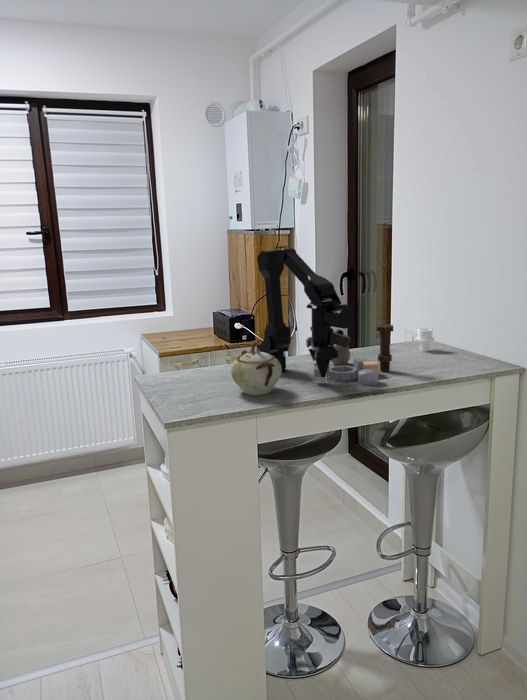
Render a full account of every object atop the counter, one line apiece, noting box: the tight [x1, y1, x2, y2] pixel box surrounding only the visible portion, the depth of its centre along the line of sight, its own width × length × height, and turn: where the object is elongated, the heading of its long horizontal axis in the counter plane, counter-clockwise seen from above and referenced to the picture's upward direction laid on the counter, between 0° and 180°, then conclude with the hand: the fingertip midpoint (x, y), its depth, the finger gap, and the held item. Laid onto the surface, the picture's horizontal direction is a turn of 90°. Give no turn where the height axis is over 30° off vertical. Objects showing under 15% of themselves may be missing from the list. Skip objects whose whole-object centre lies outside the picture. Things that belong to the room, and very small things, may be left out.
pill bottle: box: [313, 360, 331, 384], centre depth 178 cm, size 5×5×8 cm
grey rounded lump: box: [357, 369, 379, 386], centre depth 179 cm, size 6×6×4 cm
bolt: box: [376, 323, 394, 373], centre depth 190 cm, size 6×5×15 cm
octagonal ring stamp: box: [329, 357, 380, 382], centre depth 186 cm, size 16×9×5 cm, turn 96°
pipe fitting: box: [415, 327, 435, 353], centre depth 218 cm, size 6×7×8 cm
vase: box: [330, 344, 351, 366], centre depth 201 cm, size 7×7×9 cm
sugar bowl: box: [230, 341, 283, 396], centre depth 173 cm, size 20×15×15 cm
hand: (321, 375), depth 178 cm, fingers closed on pill bottle, 5 cm apart
